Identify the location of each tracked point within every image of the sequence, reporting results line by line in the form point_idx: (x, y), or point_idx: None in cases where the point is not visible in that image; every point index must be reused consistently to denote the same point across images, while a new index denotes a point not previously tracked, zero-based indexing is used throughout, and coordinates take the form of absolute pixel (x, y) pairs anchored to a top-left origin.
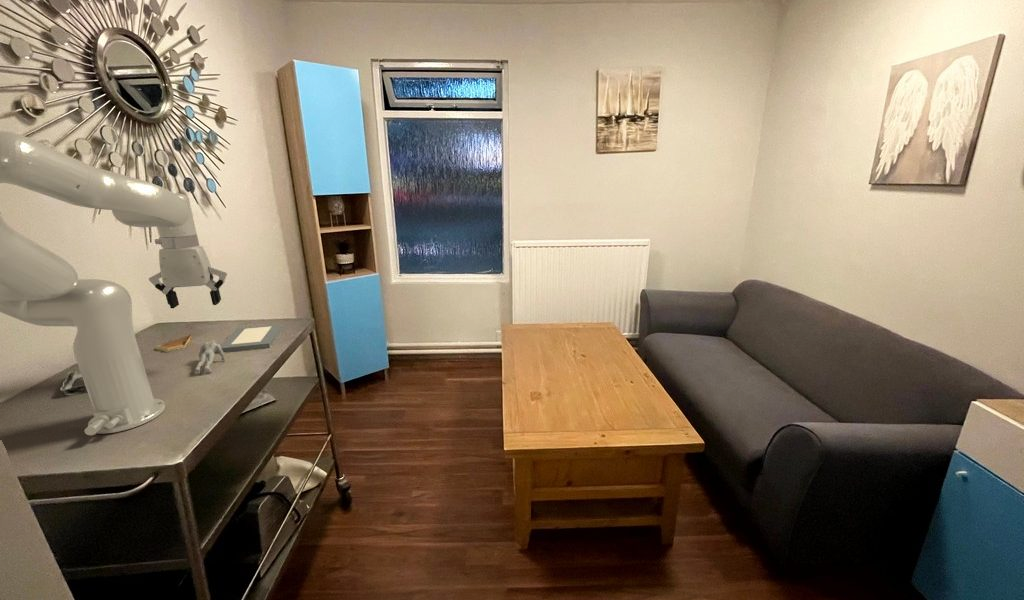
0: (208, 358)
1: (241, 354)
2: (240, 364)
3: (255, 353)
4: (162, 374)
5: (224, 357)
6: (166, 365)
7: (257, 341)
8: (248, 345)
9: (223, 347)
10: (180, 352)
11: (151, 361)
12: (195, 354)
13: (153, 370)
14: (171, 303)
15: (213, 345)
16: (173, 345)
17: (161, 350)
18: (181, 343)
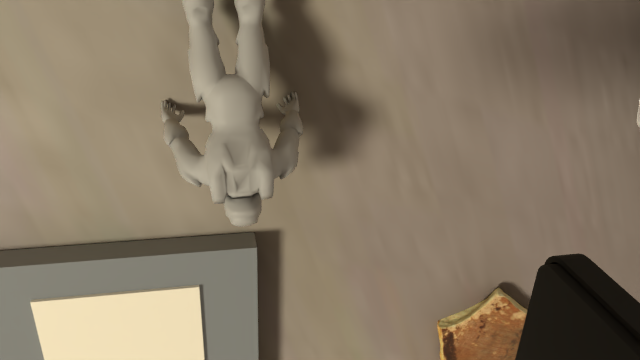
0: (213, 41)
1: (107, 189)
2: (33, 29)
3: (19, 187)
4: (447, 10)
5: (163, 120)
6: (460, 130)
7: (47, 304)
8: (82, 261)
9: (226, 257)
10: (441, 274)
11: (535, 196)
12: (365, 238)
13: (502, 81)
14: (604, 299)
15: (210, 153)
16: (486, 328)
17: (524, 308)
18: (459, 347)
